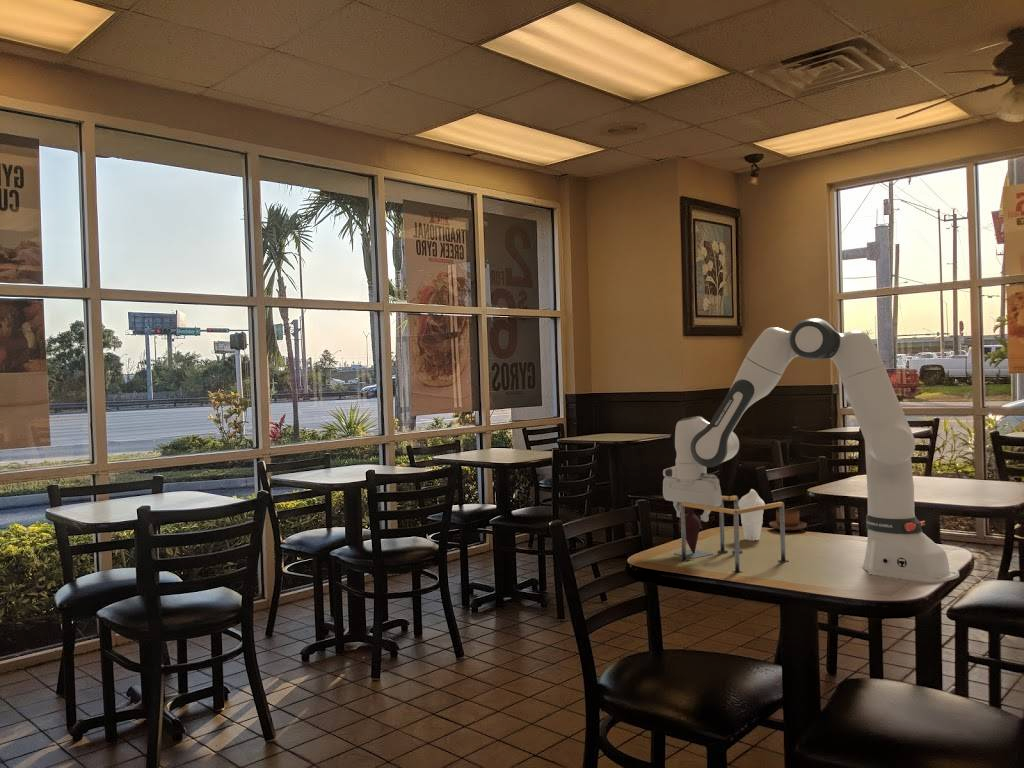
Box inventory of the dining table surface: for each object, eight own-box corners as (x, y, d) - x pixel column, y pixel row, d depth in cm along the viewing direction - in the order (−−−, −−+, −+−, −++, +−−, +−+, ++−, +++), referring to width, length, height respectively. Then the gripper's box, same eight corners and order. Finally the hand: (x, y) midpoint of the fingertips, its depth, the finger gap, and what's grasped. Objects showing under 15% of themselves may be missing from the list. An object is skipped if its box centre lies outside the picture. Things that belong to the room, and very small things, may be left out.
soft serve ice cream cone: (733, 538, 256) (732, 488, 256) (756, 535, 258) (754, 486, 258) (748, 543, 248) (747, 491, 248) (771, 540, 250) (770, 489, 250)
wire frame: (788, 563, 221) (787, 502, 220) (737, 575, 209) (736, 511, 209) (729, 550, 238) (727, 494, 238) (679, 561, 226) (677, 502, 226)
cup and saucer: (766, 525, 275) (766, 507, 275) (803, 525, 273) (802, 507, 272) (772, 532, 263) (771, 514, 263) (810, 532, 261) (809, 514, 261)
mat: (713, 555, 233) (713, 553, 233) (694, 559, 228) (694, 557, 228) (692, 550, 239) (692, 549, 239) (673, 554, 235) (673, 553, 235)
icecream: (711, 552, 231) (703, 500, 233) (688, 555, 229) (681, 503, 231) (698, 551, 238) (691, 500, 240) (676, 554, 236) (669, 503, 237)
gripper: (726, 473, 227) (727, 522, 227) (673, 468, 244) (675, 513, 244) (710, 476, 223) (712, 525, 223) (658, 470, 240) (660, 515, 240)
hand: (692, 519), depth 234 cm, fingers open, 8 cm apart
